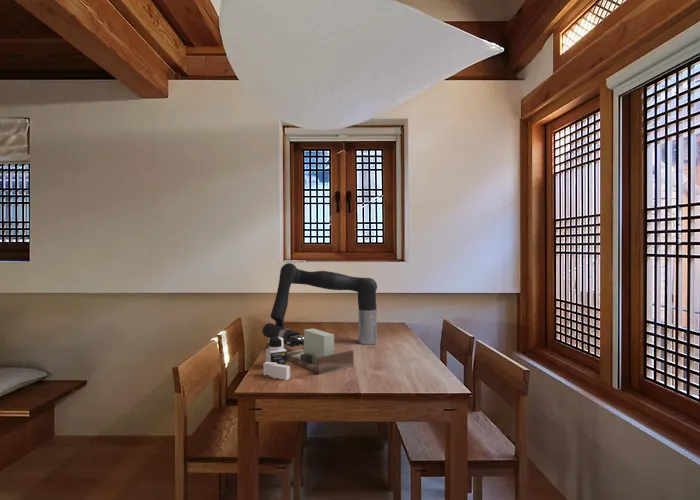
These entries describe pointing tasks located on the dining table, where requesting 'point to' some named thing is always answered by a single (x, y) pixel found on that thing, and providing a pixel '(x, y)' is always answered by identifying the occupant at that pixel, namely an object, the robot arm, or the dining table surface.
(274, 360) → the medicine bottle
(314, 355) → the block
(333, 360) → the tray
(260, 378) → the dining table surface
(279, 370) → the white rectangular block
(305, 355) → the trap posts
